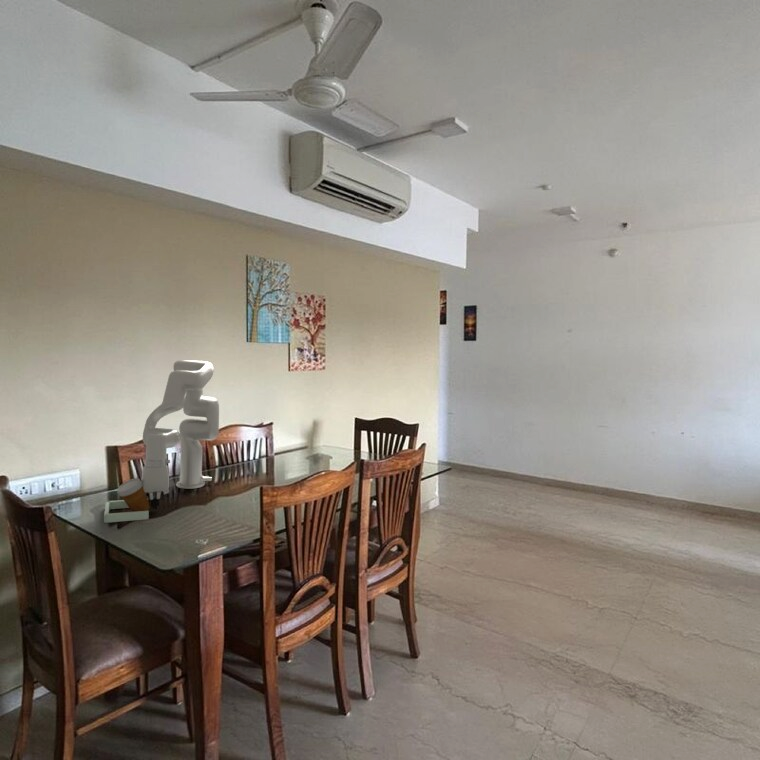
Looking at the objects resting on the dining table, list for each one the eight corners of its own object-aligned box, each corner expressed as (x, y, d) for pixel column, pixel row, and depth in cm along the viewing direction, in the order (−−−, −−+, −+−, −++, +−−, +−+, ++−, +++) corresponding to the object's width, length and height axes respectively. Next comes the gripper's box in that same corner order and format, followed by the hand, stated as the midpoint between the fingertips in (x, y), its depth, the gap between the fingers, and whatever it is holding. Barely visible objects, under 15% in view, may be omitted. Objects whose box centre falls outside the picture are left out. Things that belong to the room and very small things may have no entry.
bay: (147, 505, 216) (147, 498, 215) (148, 519, 201) (148, 511, 201) (106, 508, 209) (106, 501, 209) (103, 522, 194) (104, 515, 194)
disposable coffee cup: (127, 520, 202) (113, 495, 197) (132, 507, 210) (118, 483, 206) (152, 511, 203) (138, 486, 199) (155, 498, 212) (142, 474, 207)
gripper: (175, 460, 214) (173, 503, 215) (134, 461, 207) (133, 506, 209) (176, 464, 207) (175, 509, 209) (135, 466, 201) (134, 513, 202)
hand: (154, 508), depth 209 cm, fingers closed
